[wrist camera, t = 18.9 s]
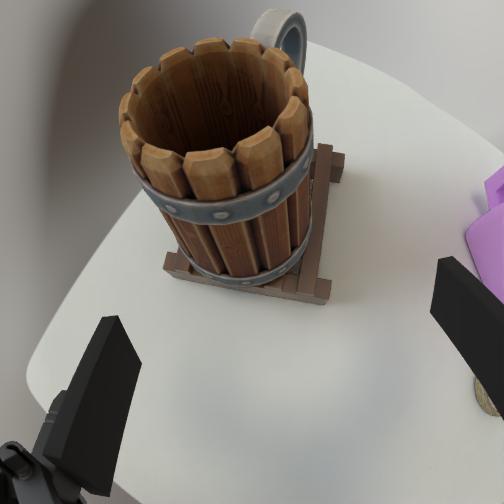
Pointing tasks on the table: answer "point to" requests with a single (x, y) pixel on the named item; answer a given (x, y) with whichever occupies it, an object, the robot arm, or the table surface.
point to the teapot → (490, 237)
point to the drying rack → (306, 283)
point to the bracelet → (484, 399)
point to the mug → (229, 149)
